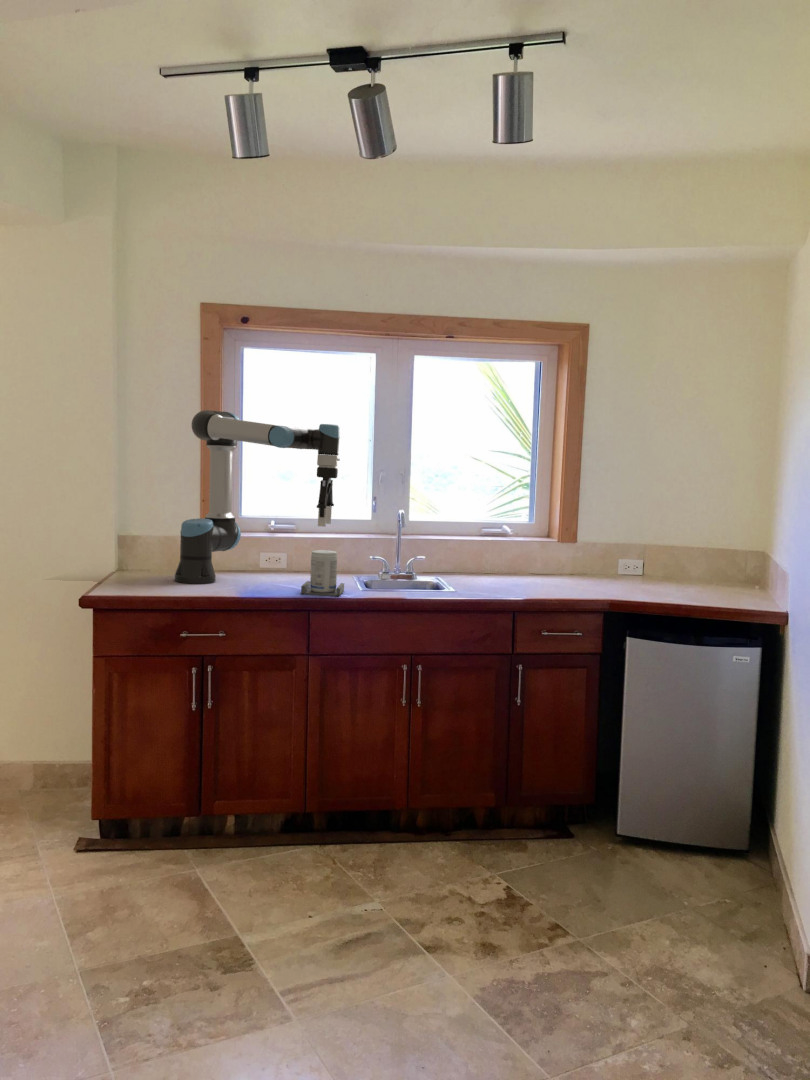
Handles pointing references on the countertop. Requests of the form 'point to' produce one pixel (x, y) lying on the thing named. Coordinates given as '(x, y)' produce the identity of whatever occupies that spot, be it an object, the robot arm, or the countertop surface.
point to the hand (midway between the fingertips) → (324, 525)
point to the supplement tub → (323, 571)
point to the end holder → (306, 590)
